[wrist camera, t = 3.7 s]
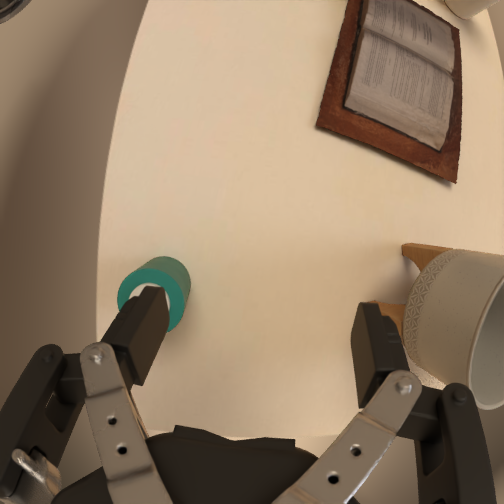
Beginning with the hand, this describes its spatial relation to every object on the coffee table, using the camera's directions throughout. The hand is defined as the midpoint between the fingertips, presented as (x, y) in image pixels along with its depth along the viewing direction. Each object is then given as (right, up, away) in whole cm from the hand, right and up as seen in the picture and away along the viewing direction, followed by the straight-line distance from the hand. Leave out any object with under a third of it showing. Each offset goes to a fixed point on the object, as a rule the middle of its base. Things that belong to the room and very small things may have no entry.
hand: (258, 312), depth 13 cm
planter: (+19, -3, +23) cm, 30 cm away
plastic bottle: (-9, -1, +19) cm, 21 cm away
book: (+19, +27, +20) cm, 39 cm away
